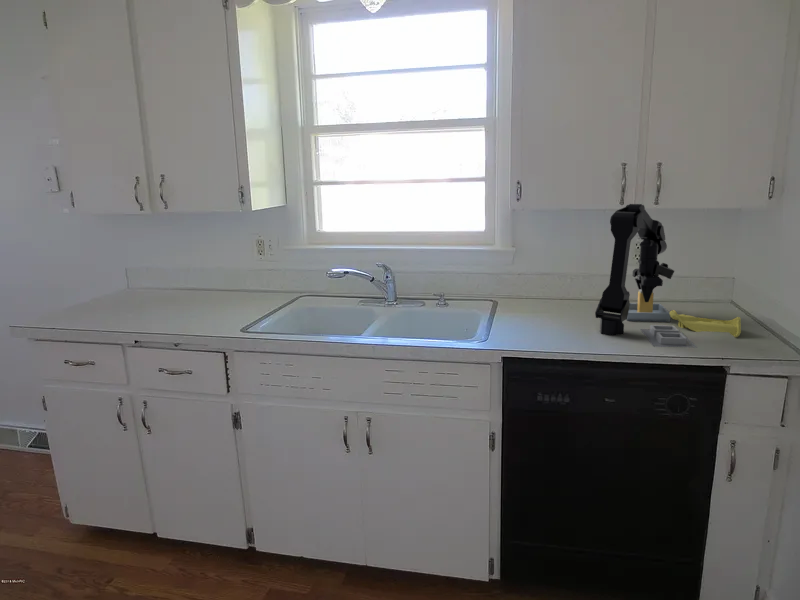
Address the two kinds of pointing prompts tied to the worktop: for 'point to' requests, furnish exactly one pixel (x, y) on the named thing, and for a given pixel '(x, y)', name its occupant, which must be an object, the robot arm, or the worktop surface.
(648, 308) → the block
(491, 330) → the worktop surface
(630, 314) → the parts tray
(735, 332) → the plastic component
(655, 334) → the board
